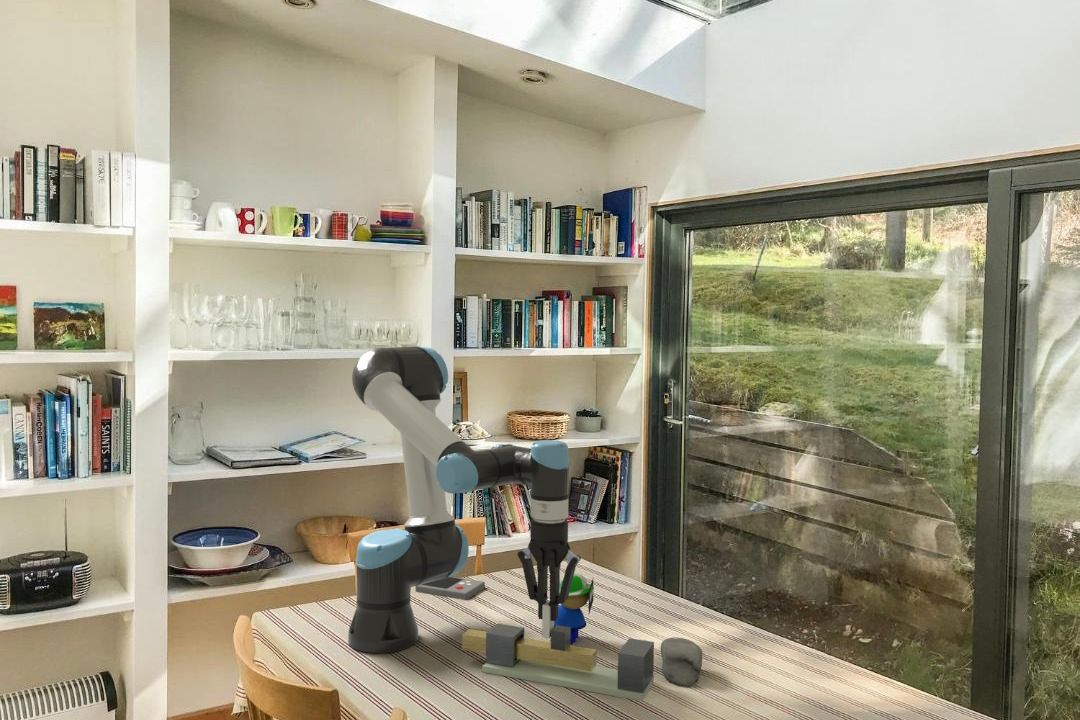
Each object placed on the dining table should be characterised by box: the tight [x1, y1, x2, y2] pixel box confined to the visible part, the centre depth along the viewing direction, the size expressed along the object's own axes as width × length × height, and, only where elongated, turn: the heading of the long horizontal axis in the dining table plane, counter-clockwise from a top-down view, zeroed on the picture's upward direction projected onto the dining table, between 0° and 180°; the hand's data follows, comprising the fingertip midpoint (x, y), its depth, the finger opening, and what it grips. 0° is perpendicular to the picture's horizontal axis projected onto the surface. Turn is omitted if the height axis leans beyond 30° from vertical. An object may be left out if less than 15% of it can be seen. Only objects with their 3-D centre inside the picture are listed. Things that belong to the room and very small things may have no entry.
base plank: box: [481, 660, 655, 702], centre depth 170 cm, size 33×9×1 cm, turn 69°
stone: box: [660, 636, 703, 688], centre depth 172 cm, size 9×9×10 cm
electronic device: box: [414, 576, 486, 601], centre depth 222 cm, size 10×2×15 cm
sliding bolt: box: [461, 625, 598, 672], centre depth 172 cm, size 28×3×7 cm, turn 69°
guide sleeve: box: [485, 623, 525, 668], centre depth 174 cm, size 6×6×6 cm
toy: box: [554, 571, 595, 645], centre depth 189 cm, size 9×9×15 cm
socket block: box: [617, 637, 655, 694], centre depth 164 cm, size 5×8×7 cm, turn 159°
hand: (548, 635), depth 171 cm, fingers closed
